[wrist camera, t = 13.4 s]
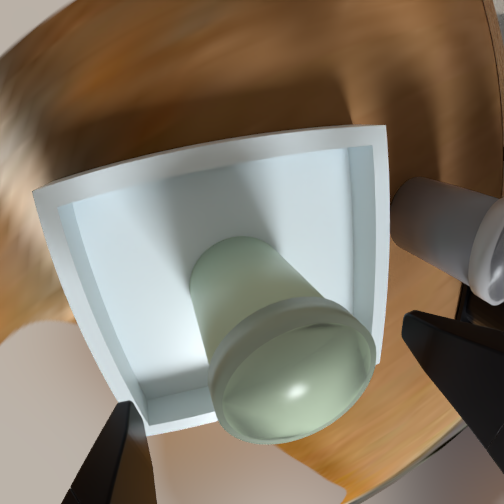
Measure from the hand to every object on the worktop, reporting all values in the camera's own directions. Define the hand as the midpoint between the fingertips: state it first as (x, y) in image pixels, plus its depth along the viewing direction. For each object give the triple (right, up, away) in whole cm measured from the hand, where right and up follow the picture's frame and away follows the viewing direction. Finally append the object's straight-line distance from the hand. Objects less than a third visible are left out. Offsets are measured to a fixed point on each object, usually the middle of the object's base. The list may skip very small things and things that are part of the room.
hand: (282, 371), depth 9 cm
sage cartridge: (-1, +2, +5) cm, 6 cm away
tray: (-2, +2, +6) cm, 7 cm away
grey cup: (+9, +6, +8) cm, 13 cm away
